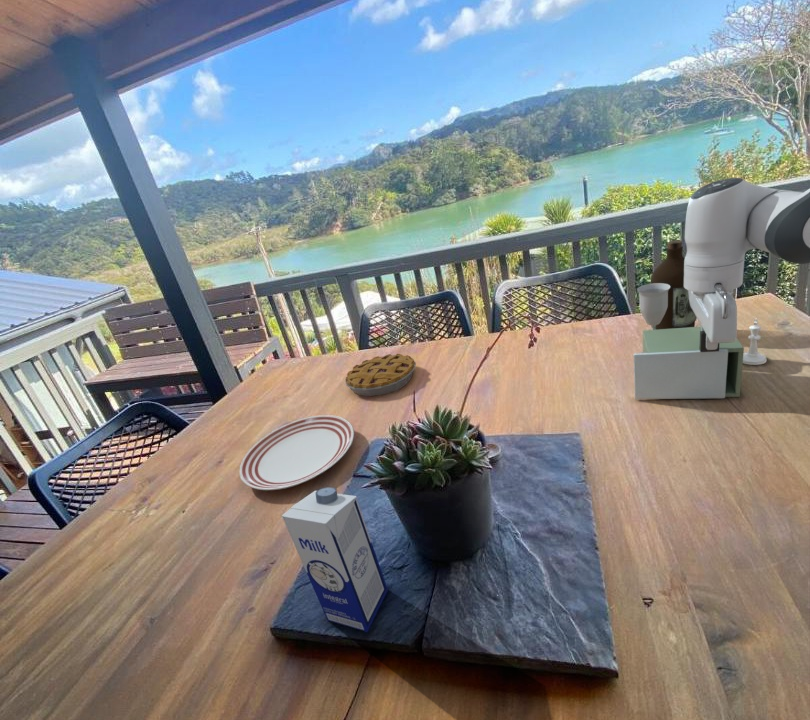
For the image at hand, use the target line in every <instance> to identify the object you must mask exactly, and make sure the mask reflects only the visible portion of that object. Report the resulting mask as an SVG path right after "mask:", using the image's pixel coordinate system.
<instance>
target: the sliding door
mask: <svg viewBox="0 0 810 720" xmlns="http://www.w3.org/2000/svg"><path fill="white" fill-rule="evenodd" d="M705 339H706V333H705V331H700V345H699V350H696V351H676V352H656V353H643V352H639V353H638V352H637V353H633V376H634V377H633V381H634V383H633V384H634V387H633V388H634V399H635V400H677V399H678V400H681V399H683V400H685V399H691V400H692V399H696V400H697V399H725V398H726V397H725V390H726V375H727V361H728V350H727V349H719V343H718V348H717V349H715V350H708V349H706V347H705Z"/></svg>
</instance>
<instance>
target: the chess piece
mask: <svg viewBox="0 0 810 720" xmlns="http://www.w3.org/2000/svg"><path fill="white" fill-rule="evenodd" d="M758 322H759V320H758V318H754V322H753V325H750V326H749V332H750V335H748V339H749V340H750V345H749V348H748V351H747V352H745V353H743V364H744V365H748V366H749V365H751V366H760V365H763V364H765V363H767V361H768V360H767V356H766V355H765V354H762V353H760V352H759V349H758V340H760V339H761V335H759V333H760V331H761V329H762V326H760V325H758Z"/></svg>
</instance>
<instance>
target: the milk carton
mask: <svg viewBox="0 0 810 720" xmlns="http://www.w3.org/2000/svg"><path fill="white" fill-rule="evenodd" d="M281 518H282V520H283V522H284V524H285V526H286V529H287V531H288V533H289V536H290V538H291V540H292V542H293V545H294V547H295V550H296V552H297V554H298V556H299V559H300V561H301V563H302V565H303V568H304V571H305V572H306V575H307V577H308V579H309V582H310V584H311V586H312V589H313V592H314V593H315V595H316V598H317V600H318V603H319V604H320V607H321V609H322V611H323V614H324V616H325V618H326V620H327V621H328V622H332V623H335V624H338V625H342V626H345V627H349V628H352V629H356V630H359V631H362V632H365V633H368V632H369V630H370V629H371V626H372V624H373V622H374V620H375V618H376V616H377V614H378V612H379V609H380V607H381V605H382V604H383V601H384V599H385V597H386V595H387V593H388V591H389V589H388V586H387V584H386V580H385V577H384V574H383V572H382V568H381V566H380V562H379V560H378V557H377V553H376V551H375V548H374V545H373V542H372V539H371V536H370V533H369V530H368V528H367V524H366V522H365V519H364V515H363V512H362V510H361V507H360V504H359V502H358V498H357V495H352V494H344V493H338V490H337V488H336V487H333V486H327V487H322V488H320V489H318V490H314V491H312V492H311V493H310V494H307V496H305V497H303V498H302V499H300V500H299V501H297V502H296V503H295V504H293V505H292V506H290V508H288V509H287V510H286V511H285V512H284V513H282V515H281Z"/></svg>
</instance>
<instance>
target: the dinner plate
mask: <svg viewBox="0 0 810 720" xmlns="http://www.w3.org/2000/svg"><path fill="white" fill-rule="evenodd" d="M354 437H355V431H354V427H353V425H352V424H351V422H349V420H347V419H346V418H344V417H341V416H339V415H331V414H325V415H324V414H323V415H322V414H321V415H312V416H308V417H304V418H303V417H302V418H300V419H297V420H293V421H291V422H289V423H286V424H284V425H282V426H280V427H278V428H276V429H274V430H272V431H271V432H269V433H267V434H265V436H264V437H262V438H261V439H260V440H257V442H256V443H255V444H254V445H253V446H252V447H250V448H249V450H248V451H247V452H246V454H245V455H244V456H243V459H242V460H241V463H240V465H239V477H240V480H241V481H242V483H243V484H245V485H246V486H247V487H249V488H251V489H255V490H258V491H259V490H260V491H276V490H277V491H278V490H285V489H288V488H292V487H295V486H298V485H300V484H303V483H306V482H308V481H310V480H313V479H314V478H316V477H318V476H320V475H322V474H323V473H325V472H326V471H328V470H329V469H331V467H333V466H334V465H335V464H337V463H338V462H339V461H340V460H341V459H342V458H343V457H344V456H345V455H346V454H347V452H348V450H349V449H350V448H351V446H352V444H353V442H354Z"/></svg>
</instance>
